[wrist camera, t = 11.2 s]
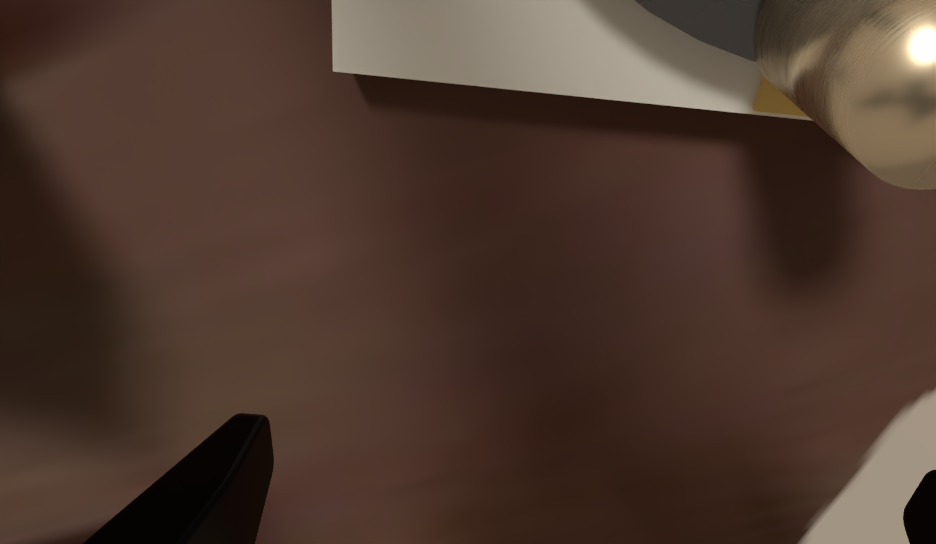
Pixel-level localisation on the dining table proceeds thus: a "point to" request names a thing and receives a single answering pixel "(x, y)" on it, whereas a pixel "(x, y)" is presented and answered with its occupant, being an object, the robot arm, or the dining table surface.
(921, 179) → the handwheel
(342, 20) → the base plate
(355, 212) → the dining table surface
